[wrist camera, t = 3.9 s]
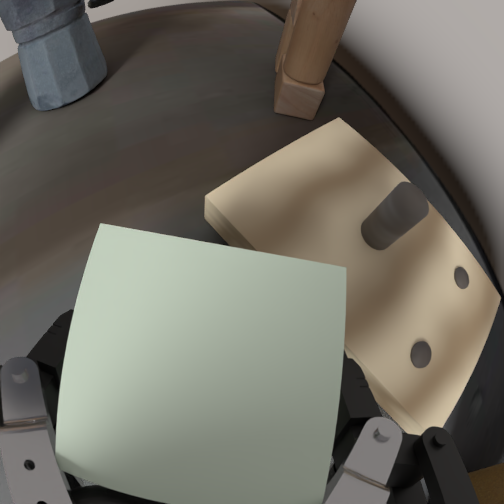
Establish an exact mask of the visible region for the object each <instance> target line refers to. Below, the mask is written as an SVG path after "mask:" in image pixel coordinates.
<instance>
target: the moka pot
mask: <svg viewBox="0 0 504 504" xmlns="http://www.w3.org/2000/svg"><path fill="white" fill-rule="evenodd" d="M112 1H114V0H90V1H89V2H88V7H90V8H95V7H99V6H101V5H105V4H107V3H110V2H112ZM0 17H1V20H2V22H3V24H4V25H5V28H6V30H8V31H12V33H13V37H14V39H15V42H16V43H18V44H19V46H18V55H19V59H20V63H21V68H22V72H23V76H24V80H25V84H26V88H27V92H28V96H29V99H30V102H31V104H32V106H33V107H34V108H36V109H37V110H39V111H47V110H51V109H54V108H59V107H62V106H64V105H67V104H69V103H71V102H73V101H75V100H77V99H78V98H80V97H82V96H84V95H85V94H86V93H88V92H89V91H91V90H92V89H93V88H95V87H96V86H97V85H98V84H99V83H100V82H101V81H102V80H103V79H104V78H105V77H106V75H107V65H106V61H105V58H104V56H103V54H102V51H101V49H100V46H99V44H98V42H97V39H96V36H95V34H94V31H93V29H92V26H91V23H90V21H89V18H88V15H87V13H85V2H84V0H0Z"/></svg>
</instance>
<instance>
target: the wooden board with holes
mask: <svg viewBox="0 0 504 504" xmlns="http://www.w3.org/2000/svg"><path fill="white" fill-rule="evenodd" d="M204 218H205V219H206V220H207V222H208V223H209V224H210V225H211V226H212V227H213V228H214V229H215V230H216V231H217V232H218V234H219V235H220V236H221V237H222V238H223V239H224V240H225V241H226V242H227V243H228V244H229V246H231V247H236V248H242V249H247V250H253V251H258V252H264V253H270V254H275V255H281V256H286V257H292V258H297V259H303V260H308V261H314V262H319V263H325V264H331V265H336V266H342V267H346V317H345V338H344V350H345V352H346V355H347V357H348V358H352V359H353V360H354V361H355V362H356V363H357V364H358V365H359V366H360V367H361V368H362V371H363V373H364V375H365V377H366V378H365V380H367V382H368V384H369V388H370V389H371V391H372V394H373V396H374V398H375V401H376V402H377V403H378V404H379V405H380V406H381V407H382V408H383V409H384V410H385V411H386V412H387V413H388V414H389V415H390V416H391V417H392V418H393V419H394V420H395V421H396V422H397V423H398V424H399V425H400V426H401V427H402V428H403V429H404V430H405V432H406V433H408V434H414V435H421V434H422V433H423V432H424V431H425V430H426V429H427V428H429V427H432V426H436V427H441V428H442V427H443V425H444V424H445V422H446V420H447V419H448V417H449V415H450V414H451V412H452V410H453V409H454V407H455V405H456V403H457V401H458V400H459V398H460V396H461V394H462V392H463V390H464V388H465V386H466V384H467V382H468V380H469V378H470V376H471V374H472V372H473V370H474V368H475V366H476V363H477V361H478V359H479V357H480V354H481V352H482V350H483V347H484V345H485V342H486V340H487V337H488V335H489V332H490V329H491V327H492V324H493V321H494V318H495V315H496V312H497V309H498V306H499V303H500V299H501V297H500V295H499V293H498V292H497V290H496V289H495V287H494V286H493V284H492V282H491V281H490V279H489V278H488V276H487V275H486V274H485V272H484V271H483V269H482V268H481V266H480V265H479V264H478V262H477V261H476V259H475V258H474V257H473V255H472V254H471V253H470V251H469V250H468V249H467V247H466V246H465V245H464V243H463V242H462V241H461V239H460V238H459V237H458V236H457V234H456V233H455V232H454V231H453V229H452V228H451V227H450V226H449V225H448V223H447V222H446V221H445V220H444V219H443V217H442V216H441V215H440V214H439V213H438V212H437V210H436V209H435V208H434V207H433V206H432V205H431V204H430V202H429V201H428V200H427V199H426V197H425V195H424V194H423V192H422V191H421V190H420V189H419V188H418V187H417V186H415V185H414V184H412V183H411V182H410V181H409V180H408V179H407V178H406V177H405V176H404V175H403V174H402V173H401V172H400V171H399V170H398V169H397V168H396V167H395V166H394V165H393V164H392V163H391V162H390V161H389V160H388V159H386V158H385V157H384V156H383V155H382V154H381V153H380V152H379V151H378V150H377V149H376V148H375V147H373V146H372V145H371V144H370V143H369V142H368V141H367V140H366V139H364V138H363V137H362V136H361V135H360V134H359V133H357V132H356V131H355V130H354V129H353V128H351V127H350V126H349V125H348V124H347V123H345V122H344V121H343V120H342V119H340V118H337V119H335V120H333V121H331V122H329V123H327V124H325V125H323V126H322V127H320V128H318V129H316V130H314V131H312V132H310V133H309V134H307V135H305V136H303V137H301V138H300V139H298V140H296V141H294V142H292V143H291V144H289V145H287V146H285V147H284V148H282V149H280V150H279V151H277V152H275V153H273V154H272V155H270V156H268V157H267V158H265V159H263V160H262V161H260V162H258V163H257V164H255V165H253V166H252V167H250V168H248V169H247V170H245V171H243V172H242V173H240V174H239V175H237V176H235V177H234V178H232V179H231V180H229V181H227V182H226V183H224V184H223V185H221V186H220V187H218V188H216V189H215V190H213V191H212V192H210V193H209V194H207V195H206V196H205V214H204Z"/></svg>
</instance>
